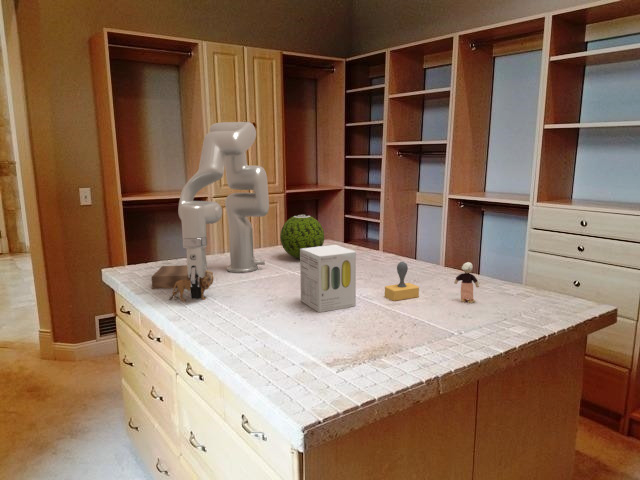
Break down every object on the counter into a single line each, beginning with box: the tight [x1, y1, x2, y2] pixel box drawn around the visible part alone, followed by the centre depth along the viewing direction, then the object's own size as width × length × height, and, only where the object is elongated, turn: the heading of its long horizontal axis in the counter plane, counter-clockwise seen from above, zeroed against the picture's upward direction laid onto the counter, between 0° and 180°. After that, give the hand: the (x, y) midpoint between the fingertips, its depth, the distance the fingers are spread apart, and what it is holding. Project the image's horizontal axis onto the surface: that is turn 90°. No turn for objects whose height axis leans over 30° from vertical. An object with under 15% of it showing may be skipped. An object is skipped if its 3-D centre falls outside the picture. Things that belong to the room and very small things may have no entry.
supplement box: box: [299, 244, 357, 313], centre depth 146 cm, size 13×13×18 cm
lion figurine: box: [168, 270, 215, 302], centre depth 153 cm, size 15×5×9 cm, turn 112°
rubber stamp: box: [384, 261, 420, 302], centre depth 153 cm, size 10×6×12 cm, turn 114°
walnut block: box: [151, 264, 191, 290], centre depth 174 cm, size 16×16×5 cm
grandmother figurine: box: [453, 261, 480, 304], centre depth 148 cm, size 8×4×13 cm, turn 71°
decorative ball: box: [280, 214, 325, 260], centre depth 210 cm, size 20×20×20 cm
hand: (198, 294), depth 155 cm, fingers open, 6 cm apart
